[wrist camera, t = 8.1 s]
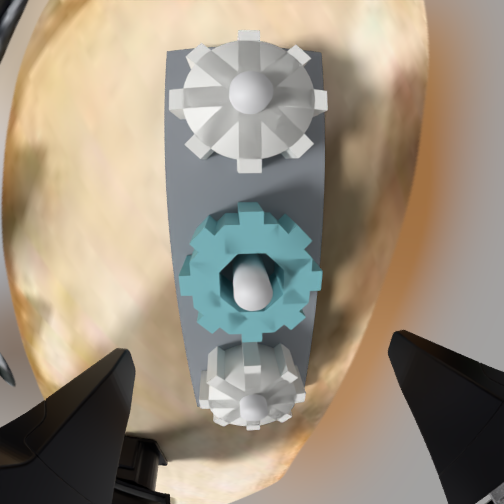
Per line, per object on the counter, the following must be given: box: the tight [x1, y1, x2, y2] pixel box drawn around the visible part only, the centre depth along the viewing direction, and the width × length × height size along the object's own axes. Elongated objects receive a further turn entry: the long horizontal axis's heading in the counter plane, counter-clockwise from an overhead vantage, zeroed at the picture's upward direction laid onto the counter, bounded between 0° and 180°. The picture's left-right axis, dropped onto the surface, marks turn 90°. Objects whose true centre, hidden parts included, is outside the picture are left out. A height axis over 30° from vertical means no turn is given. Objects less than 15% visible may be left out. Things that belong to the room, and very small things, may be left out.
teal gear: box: [179, 202, 323, 343], centre depth 15 cm, size 7×7×3 cm
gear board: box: [165, 30, 328, 430], centre depth 15 cm, size 26×9×6 cm, turn 0°
